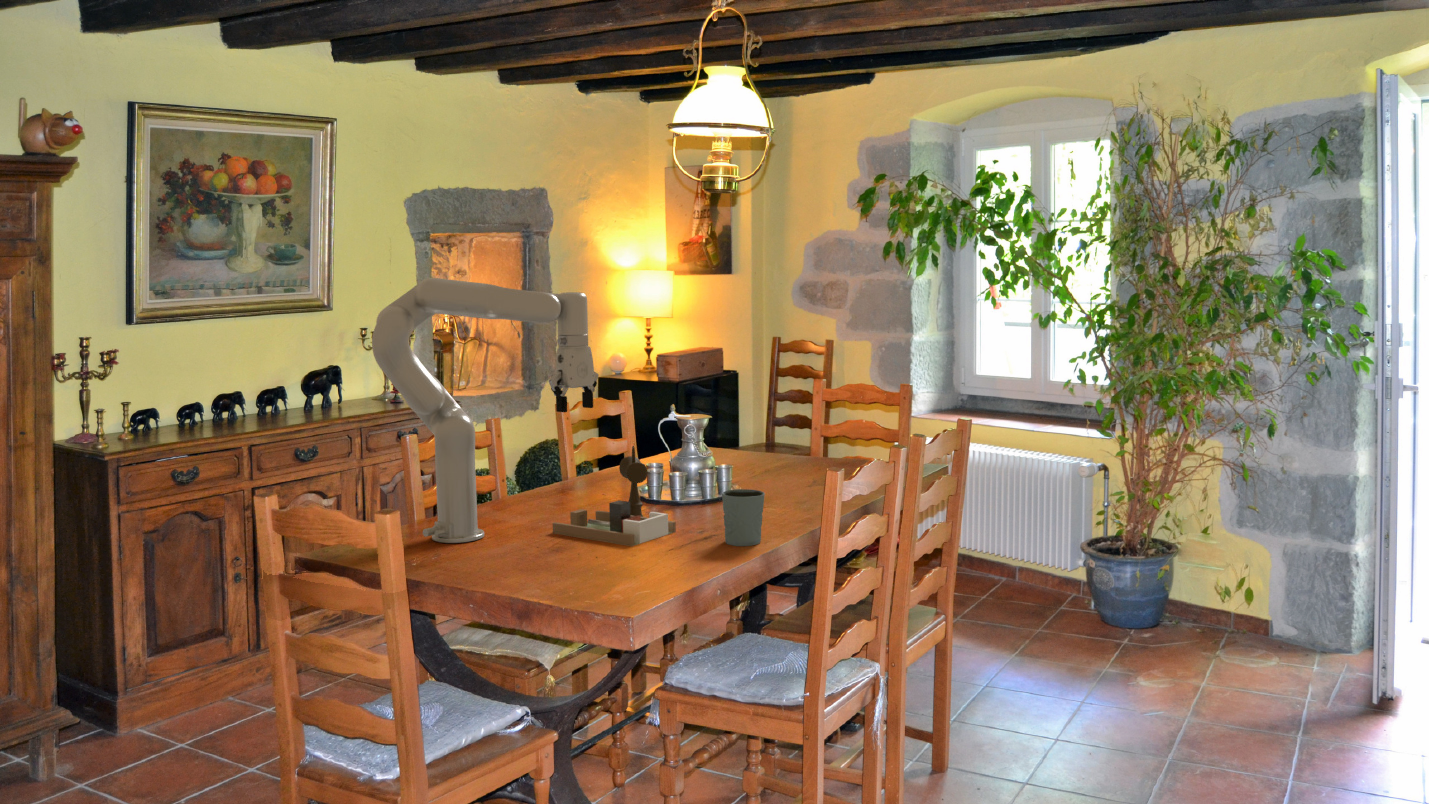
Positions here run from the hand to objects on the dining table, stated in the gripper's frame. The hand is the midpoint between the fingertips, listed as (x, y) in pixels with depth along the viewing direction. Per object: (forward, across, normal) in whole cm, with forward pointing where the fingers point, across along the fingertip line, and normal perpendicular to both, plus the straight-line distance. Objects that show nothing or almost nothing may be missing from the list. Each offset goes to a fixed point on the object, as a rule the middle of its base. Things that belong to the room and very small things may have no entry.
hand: (575, 409), depth 289 cm
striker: (+29, -3, -13) cm, 32 cm away
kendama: (+31, +13, -8) cm, 34 cm away
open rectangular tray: (+30, -3, -14) cm, 34 cm away
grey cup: (+31, +10, -44) cm, 54 cm away
